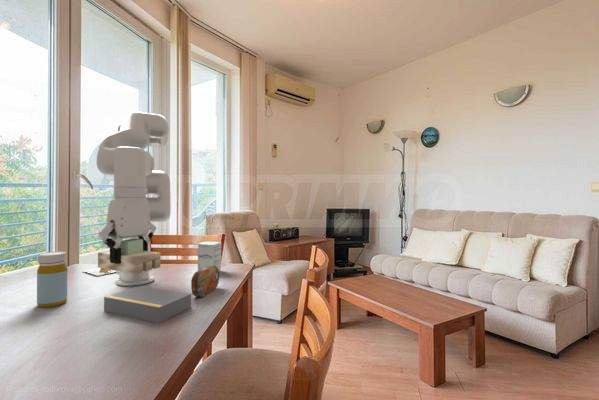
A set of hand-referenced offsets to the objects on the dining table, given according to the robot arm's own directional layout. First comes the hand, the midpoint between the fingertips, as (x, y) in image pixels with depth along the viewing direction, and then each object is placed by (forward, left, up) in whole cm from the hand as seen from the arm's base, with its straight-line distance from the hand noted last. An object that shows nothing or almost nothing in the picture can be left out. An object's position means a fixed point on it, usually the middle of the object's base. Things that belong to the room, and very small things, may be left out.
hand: (129, 259), depth 83 cm
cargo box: (0, 0, +2) cm, 2 cm away
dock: (0, +6, -15) cm, 17 cm away
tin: (+5, +25, -16) cm, 30 cm away
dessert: (-50, +31, -16) cm, 61 cm away
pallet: (0, 0, -2) cm, 2 cm away
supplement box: (-11, +48, -16) cm, 52 cm away
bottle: (-29, -2, -16) cm, 33 cm away
